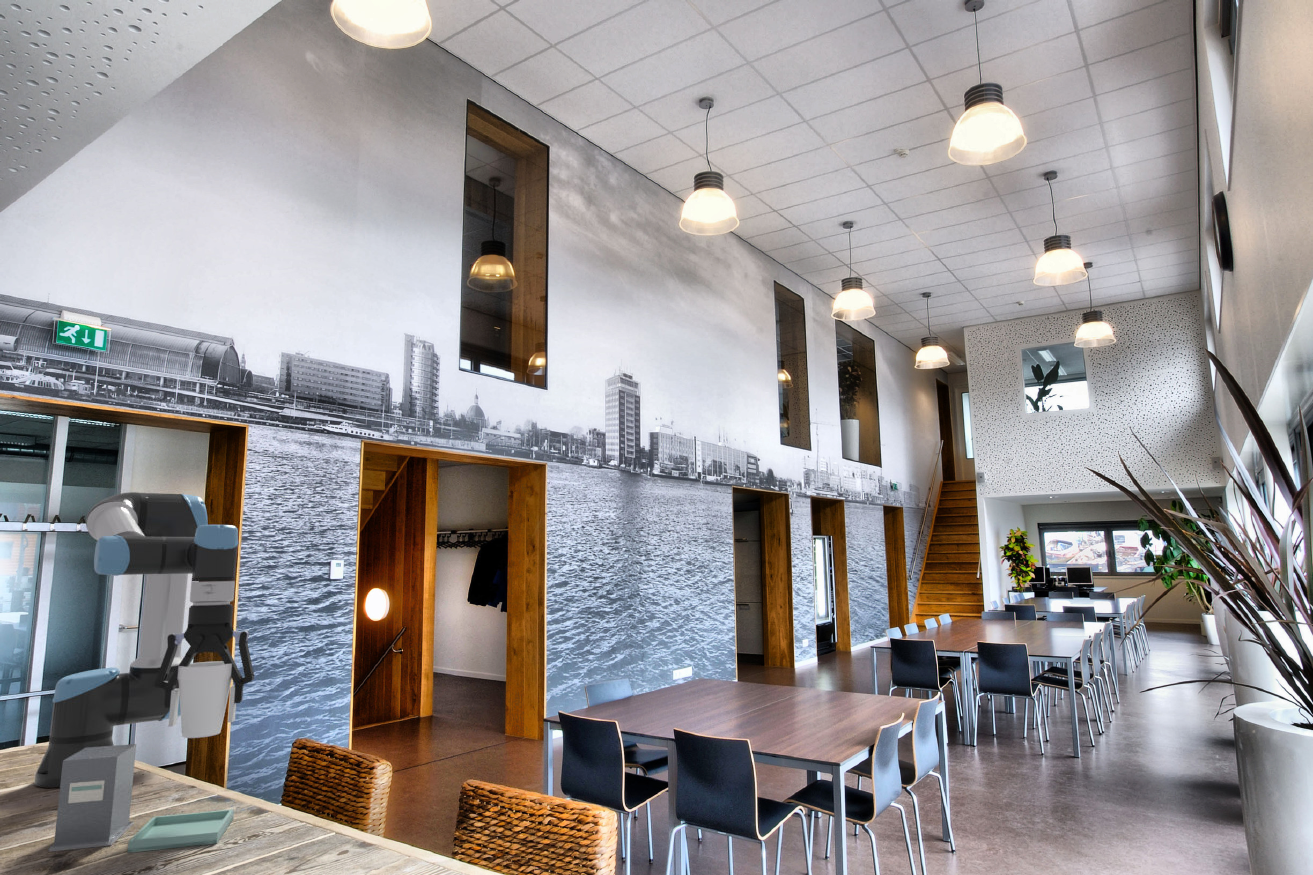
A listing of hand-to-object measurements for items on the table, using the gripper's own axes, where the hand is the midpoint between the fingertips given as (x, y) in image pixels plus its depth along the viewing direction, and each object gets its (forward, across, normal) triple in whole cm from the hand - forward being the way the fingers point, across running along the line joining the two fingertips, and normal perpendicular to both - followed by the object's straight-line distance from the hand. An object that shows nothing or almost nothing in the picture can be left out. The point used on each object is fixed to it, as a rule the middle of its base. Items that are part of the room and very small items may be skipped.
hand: (202, 722), depth 148 cm
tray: (+17, 0, -10) cm, 20 cm away
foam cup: (+2, 0, 0) cm, 2 cm away
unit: (+17, -15, -5) cm, 23 cm away
